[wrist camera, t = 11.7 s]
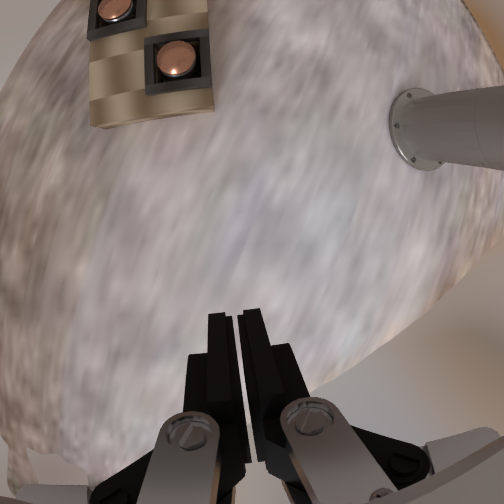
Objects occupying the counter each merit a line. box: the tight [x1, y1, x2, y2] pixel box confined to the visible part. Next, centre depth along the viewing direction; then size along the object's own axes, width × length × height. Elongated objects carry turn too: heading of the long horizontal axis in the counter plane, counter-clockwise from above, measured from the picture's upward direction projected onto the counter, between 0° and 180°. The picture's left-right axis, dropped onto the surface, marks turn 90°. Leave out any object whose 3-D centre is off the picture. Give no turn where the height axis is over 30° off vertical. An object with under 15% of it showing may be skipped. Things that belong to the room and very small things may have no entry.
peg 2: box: [157, 41, 199, 82], centre depth 28 cm, size 4×4×7 cm
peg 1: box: [98, 0, 136, 25], centre depth 25 cm, size 4×4×7 cm
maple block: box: [87, 0, 214, 129], centre depth 27 cm, size 14×20×6 cm
